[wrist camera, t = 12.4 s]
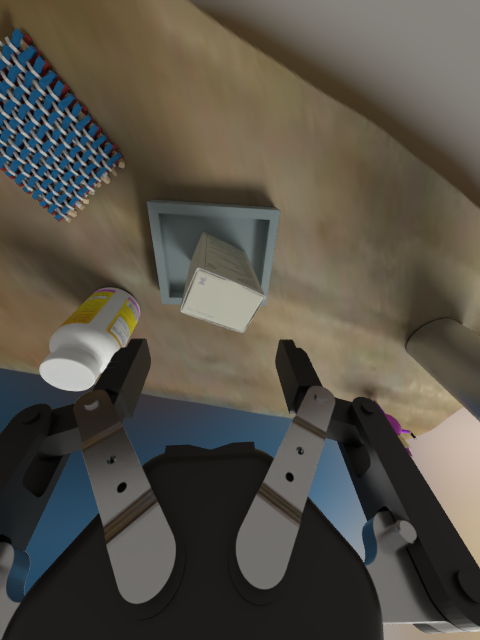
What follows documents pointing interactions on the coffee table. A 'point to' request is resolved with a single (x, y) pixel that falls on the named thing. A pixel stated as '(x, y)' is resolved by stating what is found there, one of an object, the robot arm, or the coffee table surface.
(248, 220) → the tray
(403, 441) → the wizard figurine
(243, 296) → the skincare box
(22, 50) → the woven mat
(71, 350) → the supplement bottle
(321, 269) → the coffee table surface
